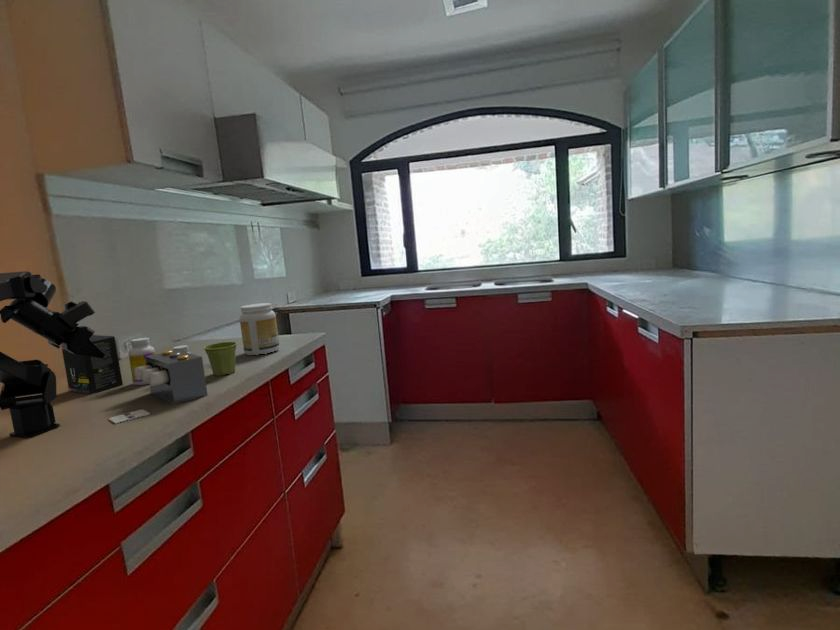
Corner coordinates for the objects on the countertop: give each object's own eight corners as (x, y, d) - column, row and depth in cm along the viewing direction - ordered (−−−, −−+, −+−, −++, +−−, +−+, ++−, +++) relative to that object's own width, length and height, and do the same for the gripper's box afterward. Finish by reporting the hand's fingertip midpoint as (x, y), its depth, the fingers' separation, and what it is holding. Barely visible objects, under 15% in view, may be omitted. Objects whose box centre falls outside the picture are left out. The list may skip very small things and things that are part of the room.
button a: (154, 387, 116) (152, 374, 116) (149, 385, 118) (147, 372, 118) (169, 383, 119) (167, 370, 118) (165, 381, 121) (163, 369, 120)
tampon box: (68, 391, 138) (58, 341, 136) (101, 382, 146) (93, 334, 144) (90, 394, 133) (80, 342, 131) (123, 385, 141) (115, 335, 139)
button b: (146, 384, 120) (144, 371, 120) (142, 382, 122) (140, 369, 122) (161, 380, 123) (159, 368, 122) (157, 378, 125) (155, 366, 124)
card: (115, 424, 107) (114, 422, 107) (109, 419, 110) (108, 417, 110) (149, 414, 112) (149, 412, 112) (142, 410, 115) (142, 408, 115)
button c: (139, 380, 124) (137, 368, 123) (135, 379, 126) (133, 367, 126) (154, 377, 126) (152, 365, 126) (150, 375, 128) (148, 363, 128)
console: (174, 404, 118) (168, 361, 117) (151, 392, 130) (144, 354, 129) (207, 395, 124) (201, 354, 123) (182, 384, 136) (176, 347, 134)
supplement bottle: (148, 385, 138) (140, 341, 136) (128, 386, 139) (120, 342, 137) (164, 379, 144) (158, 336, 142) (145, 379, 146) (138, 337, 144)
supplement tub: (283, 347, 179) (277, 301, 177) (275, 354, 167) (269, 305, 165) (249, 350, 179) (243, 304, 176) (239, 357, 167) (233, 308, 164)
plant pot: (230, 377, 140) (226, 348, 139) (200, 378, 142) (196, 349, 141) (246, 368, 150) (243, 341, 148) (219, 369, 151) (215, 342, 150)
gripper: (76, 291, 107) (138, 331, 116) (55, 291, 119) (113, 327, 129) (38, 333, 102) (106, 371, 112) (21, 328, 115) (83, 363, 124)
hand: (103, 356), depth 119 cm, fingers closed
